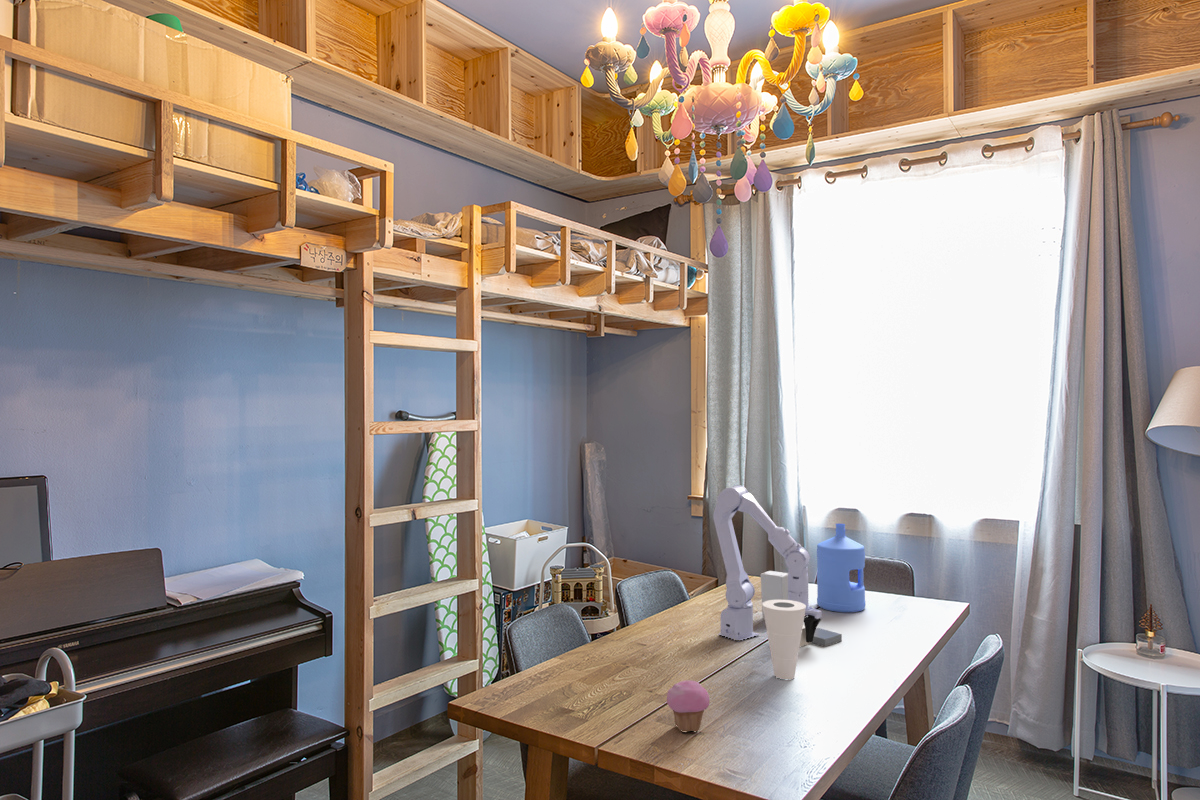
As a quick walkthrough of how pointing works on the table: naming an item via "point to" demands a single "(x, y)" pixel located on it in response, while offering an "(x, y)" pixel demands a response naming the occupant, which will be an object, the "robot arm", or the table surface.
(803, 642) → the block
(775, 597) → the skincare box
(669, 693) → the cupcake
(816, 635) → the base
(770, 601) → the cup
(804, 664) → the table surface
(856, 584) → the water jug
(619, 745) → the table surface
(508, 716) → the table surface
